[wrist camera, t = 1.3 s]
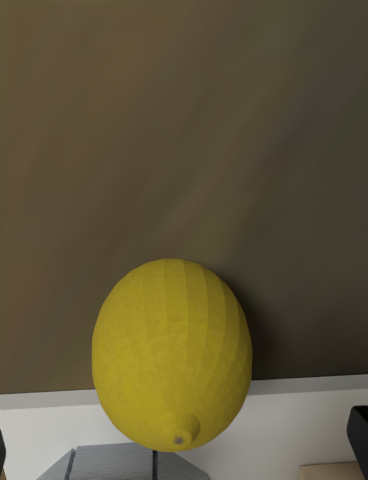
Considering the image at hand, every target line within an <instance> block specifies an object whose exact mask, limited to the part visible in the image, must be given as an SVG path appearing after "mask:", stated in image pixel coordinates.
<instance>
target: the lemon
mask: <svg viewBox="0 0 368 480" xmlns="http://www.w3.org/2000/svg"><path fill="white" fill-rule="evenodd" d="M251 373H252V344H251V338H250V334H249V330H248V326H247V322H246V318H245V315H244V312H243V310H242V308H241V306H240V304H239V302H238V301H237V299H236V297H235V296H234V294H233V292H232V291H231V289H230V288H229V287H228V286H227V285H226V283H224V282H223V281H222V280H221V279H220V278H219V277H218V276H217V275H216V274H215V273H213V272H212V271H211V270H209V269H207V268H205V267H203V266H201V265H199V264H197V263H195V262H191V261H187V260H183V259H160V260H156V261H152V262H148V263H146V264H144V265H142V266H140V267H138V268H136V269H134V270H132V271H131V272H129V273H128V274H127V275H126V276H125V277H124V278H122V279H121V280H120V281H119V282H118V283H117V284H116V285H115V287H114V288H113V290H112V291H111V293H110V294H109V296H108V297H107V298H106V300H105V301H104V303H103V305H102V307H101V310H100V313H99V316H98V319H97V322H96V325H95V328H94V333H93V339H92V374H93V381H94V385H95V388H96V391H97V395H98V398H99V401H100V404H101V407H102V408H103V410H104V412H105V413H106V415H107V416H108V418H109V419H110V421H111V422H112V423H113V425H114V426H115V427H116V428H117V429H118V430H119V431H120V432H121V433H123V434H124V435H125V436H126V437H128V438H129V439H130V440H132V441H134V442H136V443H138V444H140V445H142V446H144V447H146V448H148V449H152V450H157V451H161V452H180V451H187V450H191V449H194V448H197V447H200V446H203V445H204V444H206V443H208V442H210V441H212V440H213V439H215V438H216V437H217V436H218V435H220V434H221V433H222V432H223V431H224V430H225V429H227V428H228V427H229V425H230V424H231V423H232V421H233V420H234V419H235V417H236V416H237V415H238V413H239V412H240V411H241V409H242V406H243V404H244V401H245V399H246V396H247V394H248V391H249V388H250V383H251Z"/></svg>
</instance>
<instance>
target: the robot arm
mask: <svg viewBox="0 0 368 480" xmlns="http://www.w3.org/2000/svg"><path fill="white" fill-rule="evenodd" d="M346 432H347V437H348V440H349V442H350V445H351V447H352V450H353V452H354V454H355V457H356V459H357V462H358V464H359V467H360V469H361V472H362V474H363V477H364V479H365V480H368V405H357V406H353V407H352V408H351V411H350V415H349V419H348V423H347V428H346ZM5 458H6V447H5V443H4V439H3V436H2V432H1V429H0V475H1V472H2V469H3V466H4V462H5Z"/></svg>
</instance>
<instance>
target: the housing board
mask: <svg viewBox="0 0 368 480" xmlns="http://www.w3.org/2000/svg"><path fill="white" fill-rule="evenodd" d="M357 405H368V374H365V375H347V376H329V377H311V378H292V379H274V380H256V381H251V383H250V388H249V391H248V394H247V396H246V399H245V401H244V404H243V406H242V409H241V411H240V412H239V413H238V415H237V416H236V417H235V419H234V420H233V421H232V423H231V424H230V425H229V427H228V428H227V429H225V430H224V431H223V432H222V433H221V434H220V435H218V436H217V437H216V438H215V439H213V440H212V441H210V442H208V443H206V444H204V445H203V446H200V447H197V448H194V449H191V450H187V451H180V452H174V453H176V454H177V455H179V456H180V457H182V458H183V459H185V460H186V461H188V462H190V463H191V464H193V465H194V466H196V467H197V468H199V469H201V470H202V471H204V472H205V473H207V474H208V477H210V480H298V475H299V469H300V466H310V465H323V464H336V463H350V462H357V459H356V457H355V454H354V452H353V450H352V447H351V445H350V442H349V440H348V437H347V432H346V428H347V423H348V419H349V415H350V411H351V408H352V407H353V406H357ZM0 429H1V432H2V436H3V439H4V443H5V447H6V458H5V462H4V466H3V467H4V471H5V475H6V478H7V480H36V479H37V478H38V477H40V476H41V475H42V474H43V473H44V472H45V471H46V470H48V469H49V468H50V467H51V466H52V465H53V464H55V463H56V462H57V461H58V460H59V459H60V458H61V457H63V456H64V455H65V454H66V453H67V452H68V451H69V450H71V449H72V448H73V449H75V450H76V449H77V446H87V445H102V444H117V443H131V442H134V441H132V440H130V439H129V438H128V437H126V436H125V435H124V434H123V433H121V432H120V431H119V430H118V429H117V428H116V427H115V426H114V425H113V423H112V422H111V421H110V419H109V418H108V416H107V415H106V413H105V412H104V410H103V408H102V407H101V404H100V401H99V398H98V395H97V391H96V389H94V390H76V391H57V392H39V393H21V394H3V395H0Z"/></svg>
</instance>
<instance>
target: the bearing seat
mask: <svg viewBox="0 0 368 480" xmlns="http://www.w3.org/2000/svg"><path fill="white" fill-rule="evenodd" d="M36 480H210V477H208V474H207V473H205V472H204V471H202V470H201V469H199V468H197V467H196V466H194V465H193V464H191V463H190V462H188V461H186V460H185V459H183V458H182V457H180V456H179V455H177V454H176V453H174V452H161V451H157V450H152V449H148V448H146V447H144V446H142V445H140V444H138V443H136V442H131V443H117V444H102V445H87V446H77V449H76V450H75V449H73V448H72V449H71V450H69V451H68V452H67V453H66V454H65V455H64V456H63V457H61V458H60V459H59V460H58V461H57V462H56V463H55V464H53V465H52V466H51V467H50V468H49V469H48V470H46V471H45V472H44V473H43V474H42V475H41V476H40V477H38V478H37V479H36Z"/></svg>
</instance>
